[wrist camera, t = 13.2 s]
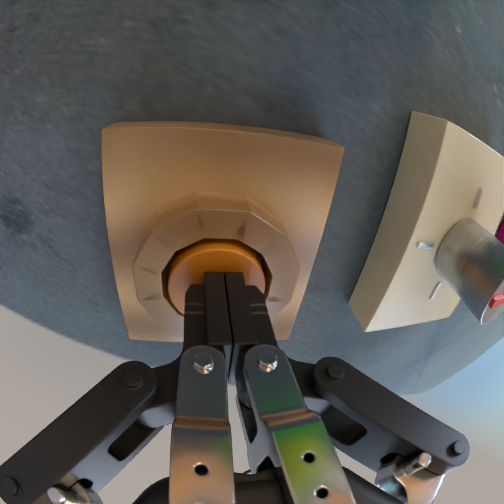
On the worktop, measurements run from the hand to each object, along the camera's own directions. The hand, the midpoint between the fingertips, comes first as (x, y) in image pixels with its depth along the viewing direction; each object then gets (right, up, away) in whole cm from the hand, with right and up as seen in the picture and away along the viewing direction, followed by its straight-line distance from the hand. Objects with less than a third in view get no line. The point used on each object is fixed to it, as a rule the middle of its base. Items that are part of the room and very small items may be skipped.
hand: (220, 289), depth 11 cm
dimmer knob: (+15, +2, +3) cm, 15 cm away
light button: (0, +1, +1) cm, 2 cm away
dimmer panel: (+14, +3, +6) cm, 16 cm away
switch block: (-1, +2, +4) cm, 4 cm away
